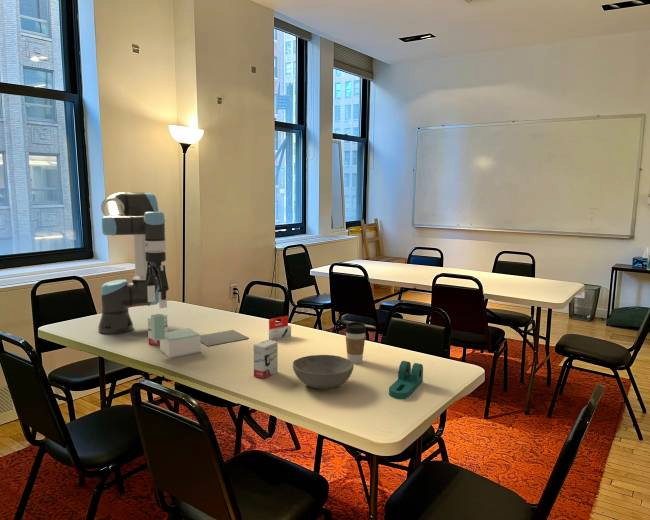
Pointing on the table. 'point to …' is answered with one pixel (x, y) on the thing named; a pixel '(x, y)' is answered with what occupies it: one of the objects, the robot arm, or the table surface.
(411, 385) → the bracket
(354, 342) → the coffee cup
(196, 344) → the tub
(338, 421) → the table surface
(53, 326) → the table surface
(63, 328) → the table surface
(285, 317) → the ink box
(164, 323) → the ink box
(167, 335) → the lid
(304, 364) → the bowl
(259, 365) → the ink box
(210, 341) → the mat
